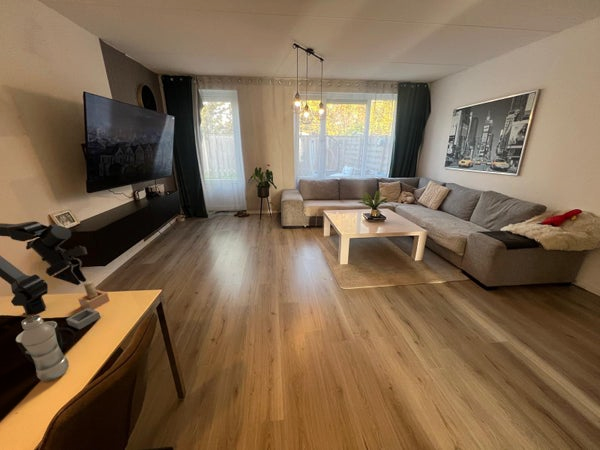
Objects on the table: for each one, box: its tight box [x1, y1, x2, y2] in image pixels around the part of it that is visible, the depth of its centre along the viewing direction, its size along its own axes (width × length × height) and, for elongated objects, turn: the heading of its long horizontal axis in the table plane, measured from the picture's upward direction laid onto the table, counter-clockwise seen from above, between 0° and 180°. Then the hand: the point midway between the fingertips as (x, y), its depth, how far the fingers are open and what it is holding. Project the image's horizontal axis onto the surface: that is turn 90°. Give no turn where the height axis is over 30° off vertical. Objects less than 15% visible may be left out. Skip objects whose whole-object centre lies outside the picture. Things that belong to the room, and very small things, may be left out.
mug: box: [15, 320, 75, 365], centre depth 77 cm, size 12×9×10 cm
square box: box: [77, 289, 110, 310], centre depth 101 cm, size 7×7×5 cm
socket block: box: [65, 308, 101, 330], centre depth 91 cm, size 7×7×4 cm
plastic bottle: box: [20, 314, 70, 382], centre depth 68 cm, size 6×7×20 cm
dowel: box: [83, 280, 98, 301], centre depth 100 cm, size 3×3×10 cm
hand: (82, 282), depth 93 cm, fingers open, 9 cm apart
